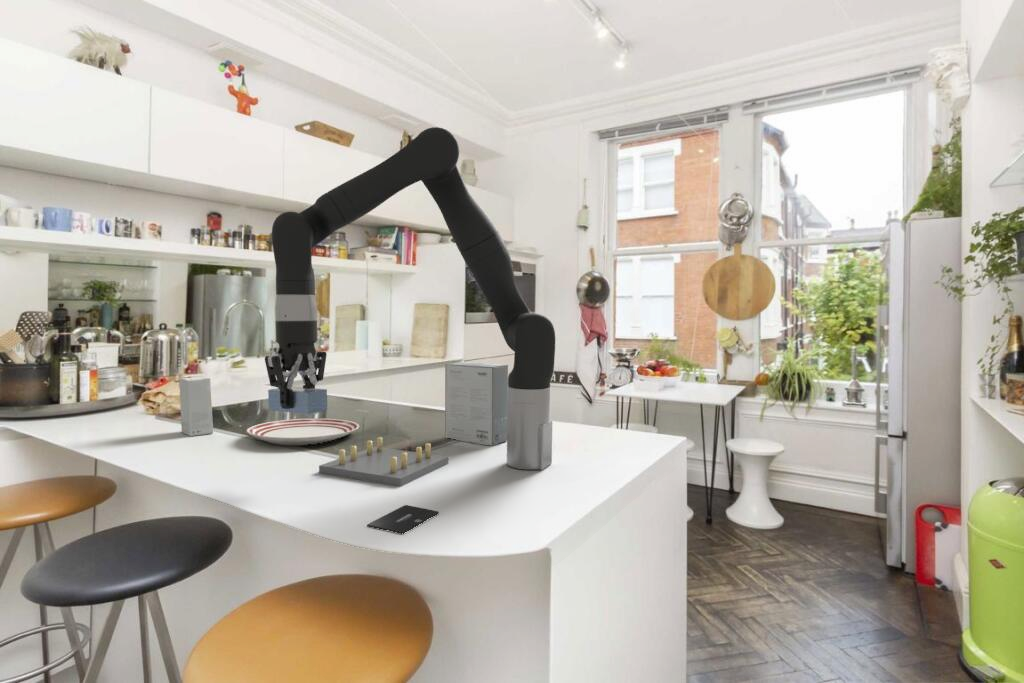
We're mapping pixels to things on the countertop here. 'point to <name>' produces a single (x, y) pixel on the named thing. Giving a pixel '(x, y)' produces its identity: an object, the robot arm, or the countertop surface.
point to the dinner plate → (302, 431)
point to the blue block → (300, 400)
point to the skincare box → (196, 406)
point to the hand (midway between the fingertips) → (298, 405)
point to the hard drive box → (476, 402)
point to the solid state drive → (403, 519)
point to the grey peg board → (384, 464)
